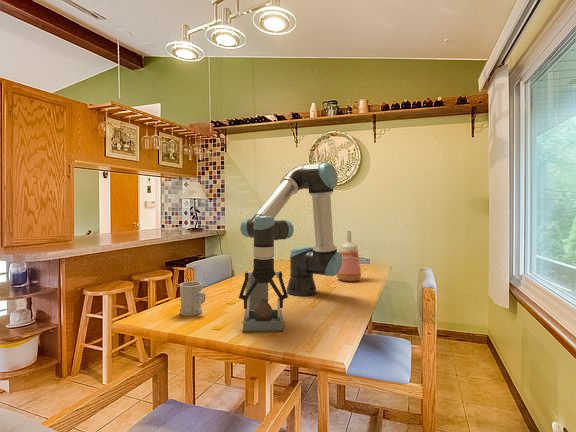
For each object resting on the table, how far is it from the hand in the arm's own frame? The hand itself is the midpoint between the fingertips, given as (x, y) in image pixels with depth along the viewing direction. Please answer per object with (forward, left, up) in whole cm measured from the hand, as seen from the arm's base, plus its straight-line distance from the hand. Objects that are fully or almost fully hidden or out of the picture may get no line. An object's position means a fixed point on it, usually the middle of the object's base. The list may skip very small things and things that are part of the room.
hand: (263, 317), depth 123 cm
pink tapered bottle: (-50, -73, -3) cm, 89 cm away
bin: (0, 0, -3) cm, 3 cm away
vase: (0, 0, -2) cm, 2 cm away
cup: (+29, -15, -3) cm, 33 cm away
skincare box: (+3, -17, -3) cm, 18 cm away
